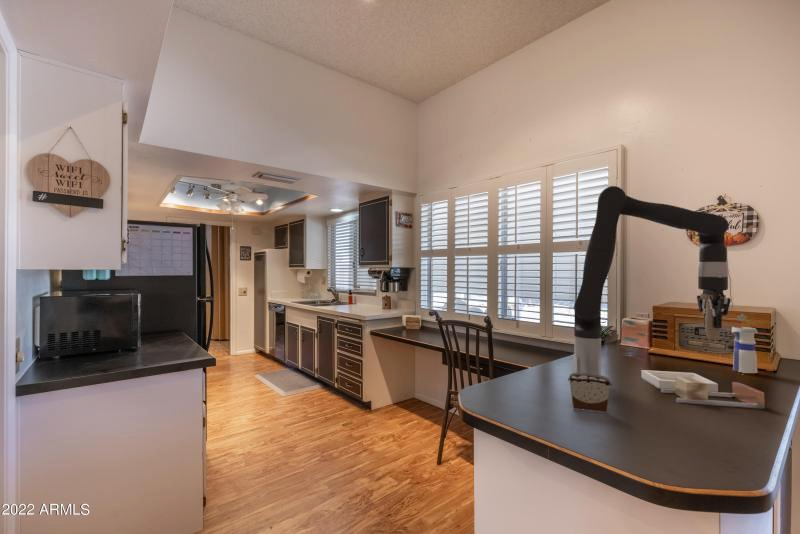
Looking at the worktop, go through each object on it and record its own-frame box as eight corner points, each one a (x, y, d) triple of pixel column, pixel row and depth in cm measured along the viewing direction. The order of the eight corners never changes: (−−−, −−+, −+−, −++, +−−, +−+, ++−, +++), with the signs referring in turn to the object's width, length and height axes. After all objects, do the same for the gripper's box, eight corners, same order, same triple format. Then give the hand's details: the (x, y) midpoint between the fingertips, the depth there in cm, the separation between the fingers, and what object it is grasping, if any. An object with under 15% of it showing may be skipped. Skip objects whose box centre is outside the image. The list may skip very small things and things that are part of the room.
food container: (608, 406, 113) (608, 374, 113) (613, 413, 107) (612, 379, 107) (565, 401, 117) (565, 370, 117) (567, 408, 111) (567, 375, 111)
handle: (703, 337, 124) (703, 294, 124) (727, 340, 118) (728, 295, 118) (697, 338, 121) (698, 294, 121) (722, 341, 116) (722, 295, 116)
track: (677, 402, 117) (677, 387, 117) (661, 391, 127) (661, 377, 127) (764, 408, 112) (764, 392, 112) (739, 397, 122) (739, 382, 122)
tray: (659, 389, 130) (659, 380, 130) (641, 378, 144) (641, 370, 145) (718, 393, 126) (717, 383, 127) (694, 381, 140) (694, 373, 141)
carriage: (686, 400, 118) (686, 382, 118) (675, 393, 125) (675, 376, 125) (708, 402, 117) (707, 383, 117) (695, 395, 123) (695, 377, 123)
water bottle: (725, 369, 158) (725, 313, 159) (747, 370, 157) (746, 313, 158) (740, 374, 150) (740, 315, 151) (763, 375, 149) (763, 315, 150)
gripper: (687, 275, 128) (687, 323, 127) (713, 275, 114) (713, 329, 114) (712, 275, 126) (712, 324, 126) (741, 276, 112) (741, 330, 112)
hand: (712, 326), depth 120 cm, fingers closed on handle, 4 cm apart
